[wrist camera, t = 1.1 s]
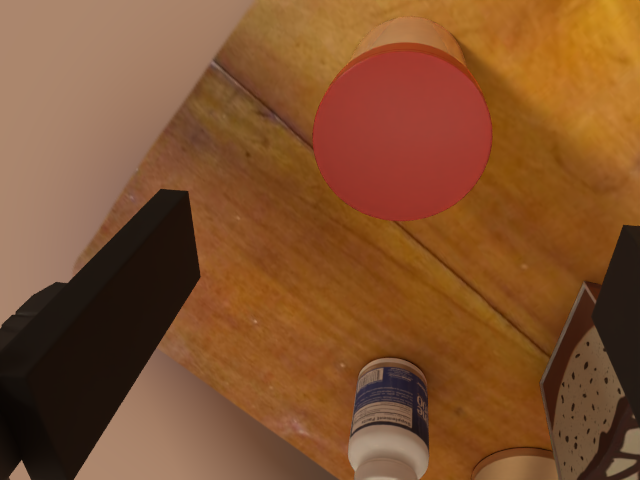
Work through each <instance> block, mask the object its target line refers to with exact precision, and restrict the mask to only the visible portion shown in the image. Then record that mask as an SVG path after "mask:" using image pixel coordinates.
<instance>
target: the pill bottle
mask: <svg viewBox="0 0 640 480" xmlns="http://www.w3.org/2000/svg"><path fill="white" fill-rule="evenodd" d="M428 431H429V430H428V394H427V381H426V379H425V376H424V374H423V373H422V372H421V370H420V369H419V368H417V367H416V366H415V365H413V364H412V363H410V362H408V361H405V360H402V359H397V358H381V359H377V360H374V361H372V362H370V363H369V364H367V365H366V366H365V367H364V368H363V369H362V370H361V372H360V374H359V377H358V381H357V389H356V396H355V403H354V411H353V418H352V425H351V432H350V439H349V446H348V458H349V461H350V464H351V466H352V468H353V469H354V470H355V475H354V480H419V479H420V478H421V477H422V476H423V475H424V473H425V472H426V470H427V467H428V462H429V434H428Z"/></svg>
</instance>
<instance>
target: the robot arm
mask: <svg viewBox="0 0 640 480" xmlns="http://www.w3.org/2000/svg"><path fill="white" fill-rule="evenodd" d="M200 277H201V276H200V270H199V263H198V256H197V249H196V242H195V235H194V228H193V221H192V214H191V207H190V200H189V193H188V191H180V190H167V189H160V190H159V191H158V192H157V193H156V194H155V195H154V196H153V197H152V198H151V199H150V200H149V201H148V202H147V203H146V204H145V205H144V206H143V207H142V208H141V209H140V210H139V211H138V212H137V213H136V214H135V215H134V216H133V218H132V219H131V220H130V221H129V222H128V223H127V224H126V225H125V226H124V227H123V228H122V229H121V230H120V231H119V232H118V233H117V234H116V235H115V236H114V237H113V238H112V239H111V240H110V241H109V242H108V243H107V244H106V245H105V246H104V247H103V248H102V249H101V250H100V251H99V252H98V253H97V254H96V255H95V256H94V257H93V258H92V259H91V260H90V261H89V262H88V263H87V264H86V265H85V266H84V267H83V268H82V269H81V270H80V271H79V272H78V273H77V274H76V275H75V276H74V277H73V278H72V279H71V280H70V281H69V283H60V282H55V283H54V284H52V285H50V286H48V287H47V288H45V289H43V290H42V291H39V292H38V293H36V294H34V295H33V296H31V298H29V299H28V300H27V301H26V302H25V303H24V304H23V305H22V306H21V307H20V308H19V309H18V310H17V311H16V314H15V315H12V316H11V317H9V319H7V320H6V321H5V322H4V323H3V324H2V327H1V329H0V480H10V479H9V476H10V475H11V473H12V472H13V471H14V469H15V468H16V467H17V465H18V464H19V462H20V461H21V460H22V461H23V463H24V465H25V468H26V470H27V472H28V474H29V476H30V478H31V480H74V478H75V477H76V475H77V473H78V472H79V470H80V469H81V467H82V465H83V464H84V462H85V461H86V459H87V457H88V456H89V454H90V453H91V451H92V449H93V448H94V446H95V444H96V443H97V441H98V440H99V438H100V437H101V435H102V433H103V432H104V430H105V429H106V427H107V426H108V424H109V422H110V420H111V419H112V417H113V416H114V414H115V413H116V411H117V410H118V408H119V406H120V405H121V403H122V402H123V400H124V398H125V397H126V395H127V394H128V392H129V390H130V389H131V387H132V386H133V384H134V382H135V381H136V379H137V378H138V376H139V374H140V373H141V371H142V370H143V368H144V366H145V365H146V363H147V362H148V360H149V359H150V357H151V355H152V354H153V352H154V350H155V349H156V347H157V346H158V344H159V343H160V341H161V339H162V338H163V336H164V335H165V333H166V331H167V330H168V328H169V327H170V325H171V323H172V322H173V320H174V319H175V317H176V315H177V314H178V312H179V311H180V309H181V307H182V306H183V304H184V303H185V301H186V300H187V298H188V296H189V295H190V293H191V292H192V290H193V288H194V287H195V285H196V284H197V282H198V280H199V279H200ZM591 318H592V320H593V323H594V325H595V327H596V330H597V332H598V334H599V336H600V339H601V341H602V343H603V346H604V348H605V350H606V353H607V355H608V357H609V359H610V362H611V364H612V366H613V369H614V371H615V373H616V375H617V378H618V380H619V382H620V385H621V387H622V389H623V391H624V394H625V396H626V398H627V401H628V403H629V405H630V407H631V410H632V412H633V414H634V417H635V419H636V421H637V424H638V426H639V428H640V226H630V225H623V227H622V230H621V233H620V236H619V239H618V241H617V244H616V247H615V250H614V253H613V256H612V258H611V261H610V264H609V267H608V270H607V273H606V275H605V278H604V281H603V284H602V287H601V289H600V292H599V295H598V298H597V301H596V304H595V306H594V309H593V312H592V315H591Z"/></svg>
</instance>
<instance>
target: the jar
mask: <svg viewBox="0 0 640 480" xmlns="http://www.w3.org/2000/svg"><path fill="white" fill-rule="evenodd" d="M399 42H412V43H421V44H425V45H429V46H433V47H435V48H438V49H440V50H443V51H445V52H446V53H448V54H450V55H452V56H453V57H454V58H456V59H457V60H458V61H460V62H461V63H462V64H463V65H464V66H465V67H466V68H467V65H466V62H465V59H464V56H463V53H462V50H461V48H460V46H459V44H458V43H457V41H456V40H455V38H454V37H453V36H452V35H451V34H450V33H449V32H448V31H447V30H446V29H444V28H443V27H442V26H440V25H439V24H437V23H435V22H433V21H430V20H428V19H424V18H420V17H400V18H395V19H392V20H389V21H386V22H384V23H382V24H380V25H378V26H377V27H375V28H374V29H372V30H371V31H370V32H369V33H368V34H367V35H366V36H365V37H364V38H363V39H362V40H361V41H360V43H359V44H358V46H357V47H356V49H355V51H354V53H353V55H352V57H351V59H350V60H349V62H348V63H350V62H351V61H352V60H353V59H355V58H356V57H358V56H359V55H361V54H362V53H364V52H366V51H369V50H371V49H373V48H376V47H379V46H382V45H386V44H391V43H399ZM467 69H468V68H467Z"/></svg>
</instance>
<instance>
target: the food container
mask: <svg viewBox="0 0 640 480" xmlns="http://www.w3.org/2000/svg"><path fill="white" fill-rule="evenodd" d="M601 287H602V285H599V284H596V283H591V282H586V281H584V282H583V284H582V286H581V289H580V291H579V293H578V296H577V298H576V300H575V303H574V305H573V307H572V309H571V312H570V314H569V316H568V319H567V321H566V323H565V326H564V328H563V330H562V332H561V335H560V337H559V339H558V342H557V344H556V346H555V349H554V351H553V353H552V355H551V358H550V360H549V362H548V365H547V367H546V369H545V372H544V374H543V376H542V378H541V381H540V383H539V384H540V389H541V394H542V399H543V404H544V409H545V414H546V419H547V424H548V429H549V434H550V439H551V444H552V449H553V454H554V459H555V464H556V469H557V474H558V479H559V480H640V428H639V426H638V424H637V421H636V419H635V417H634V414H633V412H632V410H631V407H630V405H629V403H628V401H627V398H626V396H625V394H624V391H623V389H622V387H621V385H620V382H619V380H618V378H617V375H616V373H615V371H614V369H613V366H612V364H611V362H610V359H609V357H608V355H607V353H606V350H605V348H604V346H603V343H602V341H601V339H600V336H599V334H598V332H597V330H596V327H595V325H594V323H593V320H592V318H591V315H592V312H593V309H594V306H595V304H596V301H597V298H598V295H599V292H600V289H601Z"/></svg>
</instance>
